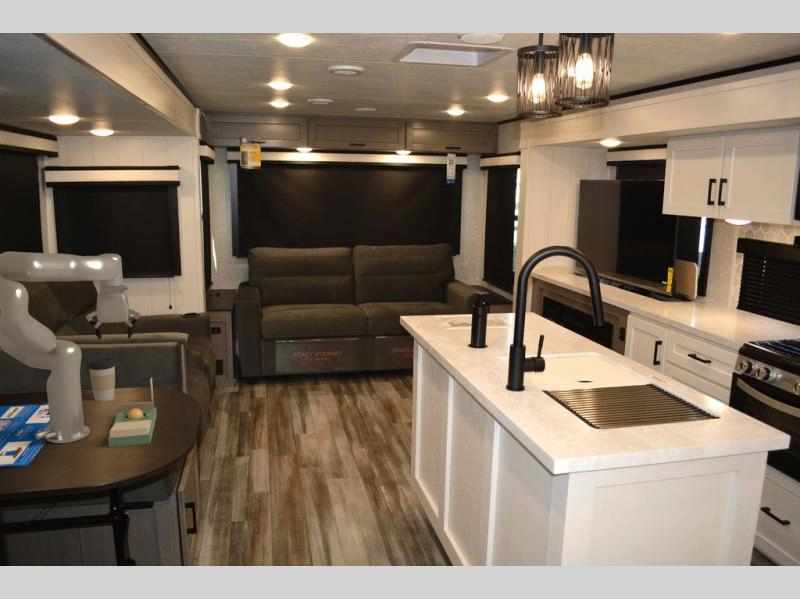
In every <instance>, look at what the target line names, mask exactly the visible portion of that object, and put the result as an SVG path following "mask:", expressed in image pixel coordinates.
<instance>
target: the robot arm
mask: <svg viewBox="0 0 800 599" xmlns="http://www.w3.org/2000/svg"><path fill="white" fill-rule="evenodd" d="M122 263H123V262H122V257H121V255H119V254H117V253H103V254H99V255H85V256H83V255H76V254H70V253H68V254H67V253H46V252H43V253H42V252H25V251H23V252H22V251H4V252H2V253H0V348H1V350H2V351H4V352H5V353H6V354H8V355H9V356H11V358H12V357H13V358H14V359H16V360H17V361H19V362H20V363H22V364H24V365H26V366H28V367H31V368H35V369H42V370H50V372H51V373H50V375H49V376H48V379H47V381H46V394H47V403H48V404H47V405H48V413H49V414H48V416H49V424H47V425H46V428H45V429H44V430H43V431H40V432H36V433H35V434H34V435H35V437H34V438H35V439H36V440H40V439H45V440H46V439H47V440H46V441H47V442H48V443H51V442H52V443H51V444H68V443H69V444H70V443H73V442H77V441H80V440H82V439H84V438H86V437H87V436H89V435H90V433H91V431H90V430H91V429H90V427H89V426H86V425H85V421H84V412H83V409H84V408H83V398H82V397H83V396H82V386H81V364H82V349H81V348H80V347H79V345H77V344H76V343H75V342H73V341H70V340H65V339H64V340H63V339H57V338H56V336H55V334H54V332H53V331H52V330H51V329H50V328H48V327H47V326H46V325H44V324H43V323H41V322H40V321H38V320H37V319H36V318H34V317H33V316H31V315H30V314H29V292H28V290H27V288H26V287H25V286H24V285H23V284H22V283H20V282H31V283H32V282H35V283H36V282H38V283H39V282H82V281H84V282H85V281H87V282H89V281H90V282H91V281H98V286H99V287H98V288H99V293H97V296H96V297H97V300H96V310H94V311H92V312H91V313H88V314H87V315H86V316H85V318H86V320H87V321H88V323H89V324H90V325H91V326H92V327H94V329H95V336H96V337H97V340H101V339H102V338H103V335H102V333H103V332H102V327H101V325H102V324H109V323H110V324H112V323H113V324H114V323H125V324H126V325H127V337H128V339H131V337H132V336H134V329H133V326H134V325H135V324H136V323H137V322H138V320H139V318H140V316H141V313H140V312H138V311H135V310H133V309H130V305H129V304H130V303H129V298H128V295H127V292H125V291H128V290H129V287H128V285H125V284H124V283H123V281H124V280H123V278H124V277H123V265H122ZM19 281H20V282H19ZM131 315H132V316H134V318H133V319H132V320H131V319H130V317H131ZM95 316H96V319H97V322H96V321H95V320H94V319H93V317H95Z"/></svg>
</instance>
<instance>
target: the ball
mask: <svg viewBox="0 0 800 599" xmlns="http://www.w3.org/2000/svg"><path fill="white" fill-rule="evenodd" d="M127 417H128V419H139V418H142V417H143V412H142V411H141V410H140V409H137V408H135V409H132V410H130V411H129V413H128V416H127Z"/></svg>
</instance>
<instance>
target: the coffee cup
mask: <svg viewBox="0 0 800 599" xmlns="http://www.w3.org/2000/svg"><path fill="white" fill-rule="evenodd" d="M115 366H116V363H115V361H113V360H112V359H111V358H109V357H101V358H96V359H93V360H91V362H90V363H89V364H88V369H89V377H90V383H91V389H92V392H93V398H94V401H96V402H107V401H111V400H113V399H114V398H115V387H116V370H115Z"/></svg>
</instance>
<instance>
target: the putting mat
mask: <svg viewBox="0 0 800 599" xmlns="http://www.w3.org/2000/svg"><path fill="white" fill-rule="evenodd" d="M149 383H150V399H151V400H150V401H149V400H147V401H137V402H125V403H123V402H122V403H121V404H120V408H121V409H118V413H117V414H116V418H115V420H114V422H113V425H112V427H111V428H110V430H109V435H108V438H107V440H108V447H109V448H115V447H114V446H116V447H124V446H136V445H146V444H151V441H152V438H153V432H154V429H155V424H156V421H155V420H157V416H158V415H157V413H158V412H157V406H154V404H155V403H154V391H153V376H151V377H150V378H149ZM135 408H137V409H140V410H141V411H142V412H143V417H142V418H139V419H128V417H127V416H128V413H129V411H130V410H132V409H135Z"/></svg>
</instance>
